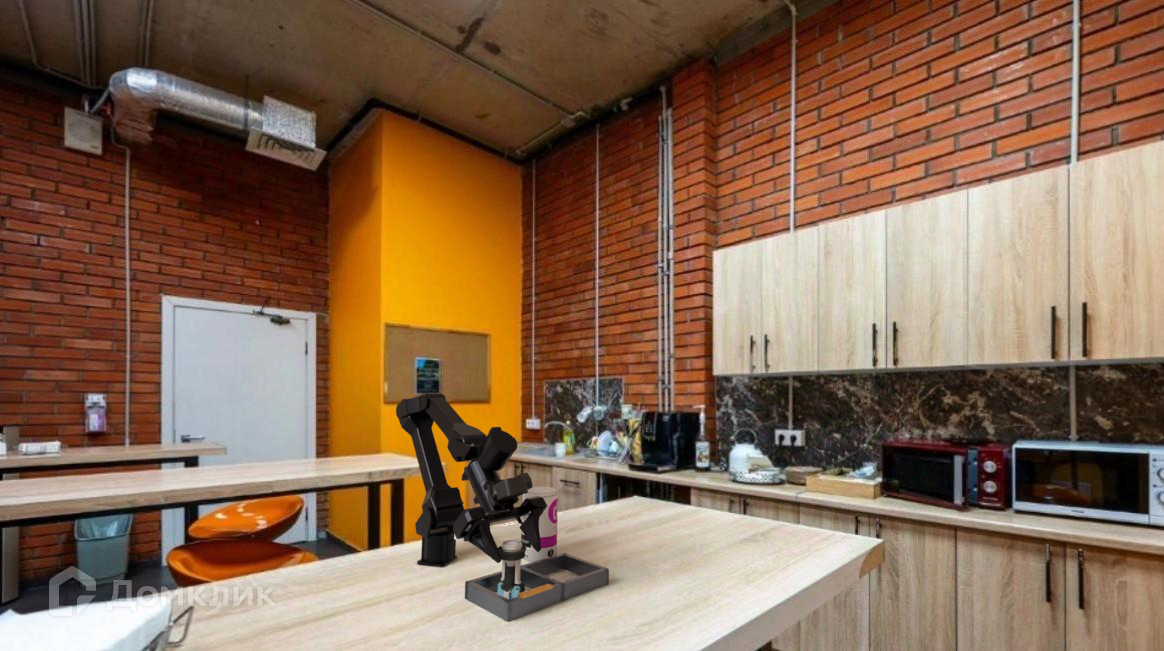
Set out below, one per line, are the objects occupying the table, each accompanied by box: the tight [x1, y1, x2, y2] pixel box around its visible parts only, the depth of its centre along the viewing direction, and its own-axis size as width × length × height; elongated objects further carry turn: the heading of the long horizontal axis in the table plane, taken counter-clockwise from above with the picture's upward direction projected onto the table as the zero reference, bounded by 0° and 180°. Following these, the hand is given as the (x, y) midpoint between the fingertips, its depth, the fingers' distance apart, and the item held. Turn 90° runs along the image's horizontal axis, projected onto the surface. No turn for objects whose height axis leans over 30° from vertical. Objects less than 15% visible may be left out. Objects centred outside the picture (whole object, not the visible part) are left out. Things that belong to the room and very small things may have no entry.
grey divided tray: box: [464, 552, 610, 622], centre depth 105 cm, size 13×25×3 cm, turn 135°
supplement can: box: [520, 486, 559, 563], centre depth 126 cm, size 8×8×15 cm
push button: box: [497, 539, 526, 599], centre depth 102 cm, size 7×5×10 cm
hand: (520, 556), depth 101 cm, fingers open, 9 cm apart
